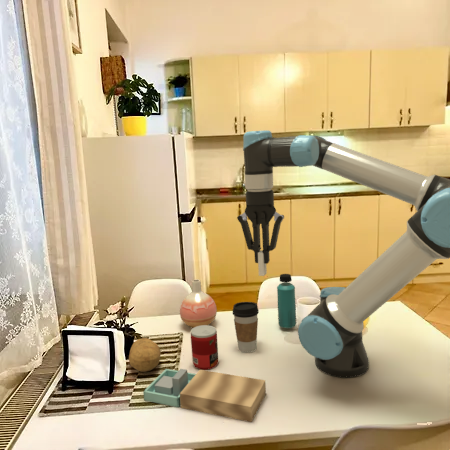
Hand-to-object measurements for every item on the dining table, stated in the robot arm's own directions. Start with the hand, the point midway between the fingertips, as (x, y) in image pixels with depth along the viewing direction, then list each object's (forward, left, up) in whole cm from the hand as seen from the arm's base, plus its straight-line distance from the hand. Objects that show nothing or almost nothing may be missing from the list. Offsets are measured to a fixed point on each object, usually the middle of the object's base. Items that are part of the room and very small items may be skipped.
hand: (262, 274), depth 115 cm
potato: (+36, +8, -30) cm, 47 cm away
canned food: (+19, +1, -30) cm, 35 cm away
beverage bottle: (+1, -30, -30) cm, 42 cm away
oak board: (+7, +17, -29) cm, 35 cm away
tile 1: (+23, +17, -27) cm, 39 cm away
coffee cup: (+10, -12, -30) cm, 33 cm away
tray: (+22, +17, -29) cm, 40 cm away
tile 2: (+18, +17, -26) cm, 36 cm away
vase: (+33, -24, -30) cm, 50 cm away
